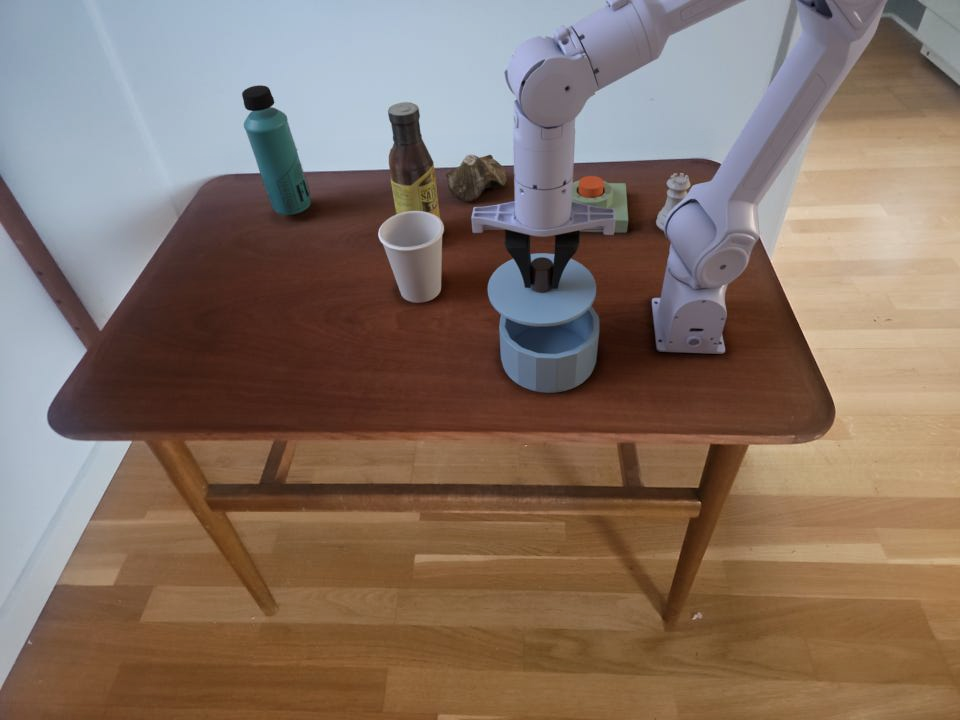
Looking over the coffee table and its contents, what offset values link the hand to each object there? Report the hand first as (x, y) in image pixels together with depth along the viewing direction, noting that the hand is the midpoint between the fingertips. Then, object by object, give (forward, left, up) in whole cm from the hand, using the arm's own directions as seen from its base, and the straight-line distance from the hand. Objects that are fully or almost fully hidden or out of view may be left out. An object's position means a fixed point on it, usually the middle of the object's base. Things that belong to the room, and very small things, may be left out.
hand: (541, 282), depth 72 cm
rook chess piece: (+26, -18, -11) cm, 34 cm away
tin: (-2, -1, -10) cm, 11 cm away
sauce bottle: (+22, +19, -11) cm, 31 cm away
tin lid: (0, 0, -1) cm, 1 cm away
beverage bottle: (+28, +41, -11) cm, 51 cm away
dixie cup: (+10, +17, -11) cm, 23 cm away
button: (+29, -6, -7) cm, 31 cm away
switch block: (+29, -6, -10) cm, 32 cm away
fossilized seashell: (+35, +12, -11) cm, 39 cm away
